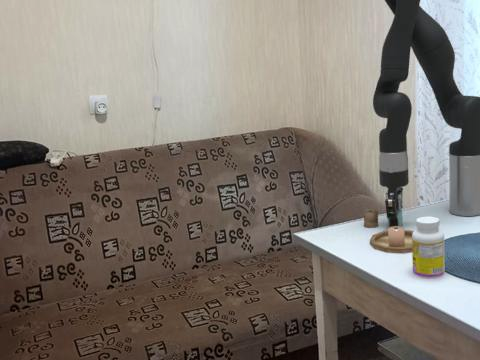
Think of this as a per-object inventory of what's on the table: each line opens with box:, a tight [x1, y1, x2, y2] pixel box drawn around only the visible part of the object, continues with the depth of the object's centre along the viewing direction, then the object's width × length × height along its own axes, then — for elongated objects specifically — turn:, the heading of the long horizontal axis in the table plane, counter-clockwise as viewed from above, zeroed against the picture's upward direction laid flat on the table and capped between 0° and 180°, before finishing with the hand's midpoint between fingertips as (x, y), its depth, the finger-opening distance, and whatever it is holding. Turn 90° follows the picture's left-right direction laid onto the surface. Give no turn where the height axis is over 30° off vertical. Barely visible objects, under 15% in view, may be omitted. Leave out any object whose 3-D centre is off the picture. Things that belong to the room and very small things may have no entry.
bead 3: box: [387, 226, 405, 248], centre depth 143 cm, size 4×4×5 cm
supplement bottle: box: [411, 216, 446, 279], centre depth 126 cm, size 7×7×13 cm
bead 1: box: [363, 208, 379, 229], centre depth 161 cm, size 4×4×5 cm
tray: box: [369, 229, 415, 254], centre depth 146 cm, size 14×14×2 cm
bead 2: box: [387, 210, 404, 228], centre depth 158 cm, size 4×4×5 cm
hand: (395, 228), depth 159 cm, fingers closed on bead 2, 3 cm apart
